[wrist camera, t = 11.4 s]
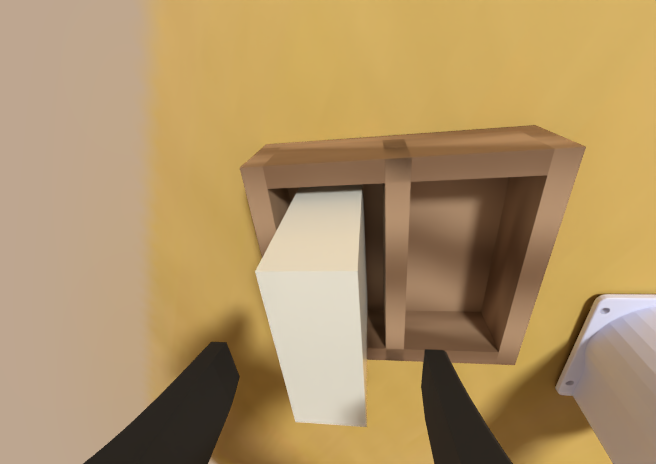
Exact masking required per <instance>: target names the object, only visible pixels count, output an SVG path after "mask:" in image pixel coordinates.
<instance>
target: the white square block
mask: <svg viewBox="0 0 656 464" xmlns="http://www.w3.org/2000/svg"><path fill="white" fill-rule="evenodd" d="M255 273H256V277H257V281H258V284H259V288H260V292H261V295H262V299H263V303H264V307H265V310H266V314H267V318H268V321H269V325H270V329H271V333H272V336H273V340H274V344H275V347H276V351H277V355H278V359H279V362H280V366H281V370H282V373H283V377H284V381H285V385H286V388H287V392H288V396H289V399H290V403H291V407H292V411H293V414H294V418H295V422H304V423H318V424H332V425H346V426H360V427H367V270H366V245H365V220H364V195H363V184H358V185H338V186H317V187H299V189H298V191H297V193H296V195H295V196H294V198H293V200H292V202H291V204H290V206H289V208H288V210H287V212H286V214H285V216H284V217H283V219H282V221H281V223H280V225H279V227H278V229H277V231H276V233H275V235H274V237H273V238H272V240H271V242H270V244H269V246H268V248H267V250H266V252H265V254H264V256H263V258H262V259H261V261H260V263H259V265H258V267H257V269H256V271H255Z"/></svg>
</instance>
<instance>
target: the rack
mask: <svg viewBox="0 0 656 464" xmlns="http://www.w3.org/2000/svg"><path fill="white" fill-rule="evenodd" d="M585 148H586V147H585V146H583V145H580V144H578V143H576V142H573V141H571V140H569V139H566V138H564V137H562V136H559V135H557V134H555V133H552V132H550V131H548V130H545V129H543V128H541V127H538V126H536V125H532V126H518V127H504V128H490V129H476V130H462V131H448V132H434V133H420V134H406V135H393V136H379V137H365V138H351V139H337V140H323V141H309V142H295V143H281V144H267V145H265V146H264V147H263V148H262V149H261V150H259V151H258V152H257V153H256V154H255V155H254V156H253V157H251V158H250V159H249V160H248V161H247V162H246V163H245V164H243V165H242V166H241V167H240V171H241V175H242V179H243V183H244V187H245V191H246V195H247V199H248V203H249V207H250V211H251V215H252V219H253V223H254V227H255V231H256V235H257V239H258V243H259V247H260V251H261V255H262V258H263V256H264V254H265V252H266V250H267V248H268V246H269V244H270V242H271V240H272V238H273V237H274V235H275V233H276V231H277V229H278V227H279V225H280V223H281V221H282V219H283V217H284V216H285V214H286V212H287V210H288V208H289V206H290V204H291V202H292V200H293V198H294V196H295V195H296V193H297V191H298V189H299V187H317V186H338V185H358V184H363V195H364V220H365V245H366V270H367V359H368V360H394V361H421V362H424V351H425V349H433V350H444V351H445V352H447V355H448V357H449V359H450V361H451V363H475V364H502V365H515V363H516V360H517V357H518V354H519V351H520V348H521V345H522V342H523V339H524V336H525V333H526V329H527V326H528V323H529V320H530V317H531V314H532V311H533V308H534V305H535V302H536V299H537V296H538V293H539V289H540V286H541V283H542V280H543V277H544V274H545V271H546V268H547V265H548V262H549V259H550V256H551V253H552V250H553V246H554V243H555V240H556V237H557V234H558V231H559V228H560V225H561V222H562V219H563V216H564V213H565V210H566V207H567V203H568V200H569V197H570V194H571V191H572V188H573V185H574V182H575V179H576V176H577V173H578V170H579V167H580V163H581V160H582V157H583V154H584V151H585Z"/></svg>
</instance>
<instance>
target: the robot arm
mask: <svg viewBox="0 0 656 464" xmlns="http://www.w3.org/2000/svg"><path fill="white" fill-rule="evenodd" d="M238 381H239V374H238V371H237V369H236V366H235V364H234V361H233V358H232V356H231V353H230V351H229V348H228V345H227V343H226V342H211V343H210V344H209V345H208V346H207V347H206V348H205V349H204V350H203V351H202V352H201V353H200V354H199V355H198V356H197V357H196V358H195V359H194V360H193V362H192V363H191V364H190V365H189V366H188V367H187V368H186V369H185V370H184V371H183V372H182V373H181V374H180V375H179V376H178V377H177V378H176V379H175V380H174V381H173V382H172V383H171V384H170V385H169V386H168V387H167V388H166V389H165V391H164V392H163V393H162V394H161V395H160V396H159V397H158V398H157V399H156V400H155V401H154V402H152V403H151V404H150V405H149V406H148V407H147V408H146V409H145V410H144V411H143V412H142V413H141V414H140V415H139V416H138V417H137V418H136V419H135V420H134V421H133V422H131V424H129V425H128V426H127V427H126V428H125V429H124V430H123V431H122V432H120V433H119V434H118V435H117V436H116V437H115V438H114V439H112V440H111V441H110V442H109V443H108V444H107V445H105V446H104V447H103V448H102V449H101V450H99V451H98V452H97V453H96V454H95V455H93V457H91V458H90V459H88V460H87V461H86V462H85V463H84V464H208V462H209V460H210V457H211V455H212V452H213V450H214V448H215V445H216V443H217V440H218V438H219V435H220V433H221V430H222V428H223V426H224V423H225V421H226V418H227V416H228V413H229V411H230V408H231V405H232V402H233V399H234V395H235V392H236V388H237V384H238ZM421 388H422V397H423V406H424V414H425V421H426V426H427V430H428V435H429V440H430V445H431V449H432V454H433V459H434V463H435V464H513V463H512V462H511V460H510V459H509V458H508V456H507V455H506V453H505V452H504V450H503V449H502V447H501V446H500V444H499V443H498V441H497V440H496V438H495V437H494V435H493V434H492V432H491V431H490V429H489V428H488V426H487V425H486V423H485V421H484V420H483V418H482V416H481V415H480V413H479V412H478V410H477V408H476V407H475V405H474V403H473V402H472V400H471V398H470V397H469V395H468V393H467V391H466V390H465V388H464V386H463V384H462V382H461V381H460V379H459V377H458V375H457V373H456V371H455V369H454V367H453V365H452V363H451V361H450V359H449V357H448V355H447V352H445V351H444V350H433V349H425V351H424V362H423V373H422V384H421ZM555 389H556V390H557V392H558V394H560V395H567V396H573V397H574V399H575V401H576V402H577V404H578V406H579V407H580V409H581V411H582V412H583V414H584V416H585V417H586V419H587V421H588V422H589V424H590V426H591V427H592V429H593V431H594V432H595V434H596V436H597V437H598V439H599V441H600V442H601V444H602V446H603V448H604V449H605V451H606V453H607V454H608V456H609V458H610V459H611V461H612V463H613V464H656V294H604V295H601V296H599V297H597V298H596V299H595V301H594V303H593V305H592V308H591V310H590V312H589V314H588V316H587V319H586V321H585V323H584V325H583V327H582V330H581V332H580V334H579V336H578V338H577V341H576V343H575V345H574V347H573V349H572V352H571V354H570V356H569V358H568V360H567V363H566V365H565V367H564V369H563V371H562V374H561V376H560V378H559V380H558V382H557V385H556V387H555Z"/></svg>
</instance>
